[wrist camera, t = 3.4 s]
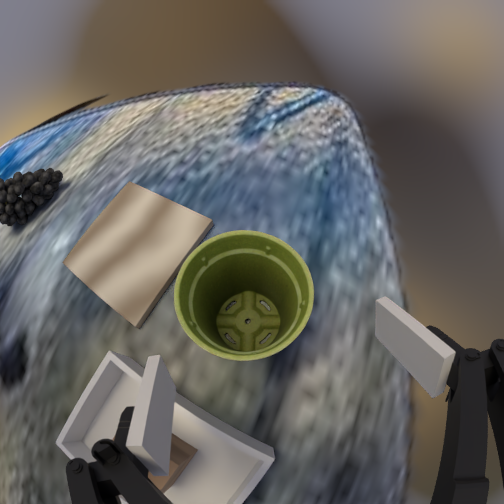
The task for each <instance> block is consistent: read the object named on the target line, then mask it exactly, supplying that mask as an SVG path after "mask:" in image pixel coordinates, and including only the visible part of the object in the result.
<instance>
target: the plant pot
mask: <svg viewBox="0 0 504 504" xmlns="http://www.w3.org/2000/svg"><path fill="white" fill-rule="evenodd" d="M232 301H236V303H235V304H234V305H232V306H231V307H230V308H229V309H228V310H227V311H226V307H227V306H228V305H229V304H230V303H231V302H232ZM260 301H264V302H266V303H267V304H268V305H269V306H270V308H271V310H270V311H268V310H267V309H266V307H265V306H264V305H262V304H261V303H260ZM313 301H314V287H313V281H312V277H311V274H310V271H309V269H308V267H307V265H306V264H305V262H304V260H303V259H302V258H301V256H300V255H299V254H298V253H297V252H296V251H295V250H294V249H293V248H292V247H290V246H289V245H288V244H286V243H285V242H284V241H282V240H280V239H278V238H276V237H274V236H272V235H269V234H265V233H262V232H258V231H247V230H238V231H231V232H226V233H223V234H220V235H217V236H215V237H212V238H210V239H208V240H207V241H205V242H203V243H202V244H201V245H199V246H198V247H197V248H196V249H195V250H194V251H193V252H192V253H191V254H190V255H189V256H188V257H187V259H186V260H185V262H184V263H183V265H182V267H181V269H180V271H179V273H178V276H177V279H176V283H175V290H174V305H175V310H176V314H177V317H178V320H179V322H180V324H181V326H182V327H183V329H184V331H185V332H186V333H187V335H188V336H189V337H190V338H191V339H192V340H193V341H194V342H195V343H196V344H197V345H198V346H200V347H201V348H202V349H204V350H206V351H207V352H209V353H211V354H213V355H216V356H219V357H221V358H225V359H229V360H236V361H251V360H257V359H262V358H265V357H268V356H271V355H273V354H275V353H277V352H279V351H281V350H283V349H284V348H285V347H287V346H288V345H289V344H291V343H292V342H293V341H294V340H295V339H296V338H297V337H298V335H299V334H300V333H301V332H302V330H303V329H304V327H305V326H306V324H307V322H308V320H309V317H310V315H311V312H312V308H313ZM248 318H249V319H250V321H251V322H250V323H249V324H246V323H245V320H246V319H248ZM225 333H228V334H229V336H230V337H231V338H232V339H233V340H234V341H235V342H236V344H235V343H232V342H230V341H229V340H228V339H227V338H226V337H225ZM268 333H271V336H270V337H269V338H268V339H267V341H266V342H265V343H263V344H260V341H262V340H263V339H264V338H265V337H266V336H267V335H268Z"/></svg>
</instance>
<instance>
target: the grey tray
mask: <svg viewBox="0 0 504 504" xmlns="http://www.w3.org/2000/svg"><path fill="white" fill-rule="evenodd" d="M144 370H145V369H144V368H143V367H142V366H141V365H139V364H138V363H137V362H136V361H134V360H133V359H132V358H130V357H127V356H124V355H121V354H118V353H115V352H113V351H110V350H109V351H108V353H107V354H106V356H105V358H104V359H103V361H102V362H101V364H100V366H99V367H98V369H97V370H96V372H95V374H94V375H93V377H92V379H91V380H90V382H89V384H88V385H87V387H86V389H85V390H84V392H83V394H82V395H81V397H80V399H79V401H78V402H77V404H76V406H75V408H74V409H73V411H72V413H71V415H70V416H69V418H68V420H67V422H66V424H65V425H64V427H63V429H62V431H61V433H60V435H59V437H58V438H57V440H56V442H55V443H56V444H57V445H58V446H59V447H60V449H61V450H62V451H63V452H64V453H65V454H66V455H67V456H68V457H69V458H70V459H71V460H72V459H74V458H82V459H84V460H85V461H86V462H87V463H90V462H95V461H97V460H96V459H95V458H94V457H93V456H92V453H91V450H92V447H93V445H94V444H95V443H96V442H97V441H99V440H101V439H111V440H112V439H113V438H114V436H115V434H116V431H117V429H118V423H119V420H120V416H121V413H122V412H123V411H124V409H125V408H126V407H129V406H135V404H136V400H137V396H138V392H139V389H140V385H141V381H142V377H143V374H144ZM172 433H173V434H174V435H176V436H177V437H179V438H180V439H182V440H183V441H185V442H186V443H188V444H190V445H191V446H193V447H194V448H196V449H198V451H197V452H196V454H195V455H194V456H193V458H192V459H191V461H190V462H189V463H188V465H187V466H186V468H185V469H184V470H183V472H182V473H181V475H180V476H179V477H178V479H177V480H176V481H175V483H174V484H173V485H172V486H171V487H170V488H169V489H168V490H167V491H166V492H165V493H164V495H165V496H166V497H167V498H168V499H169V500H170V501H171V502H172V503H173V504H242V503H243V502H244V501H245V499H246V498H247V497H248V496H249V494H250V493H251V492H252V490H253V489H254V488H255V487H256V485H257V484H258V482H259V481H260V480H261V478H262V477H263V476H264V474H265V473H266V472H267V470H268V469H269V467H270V466H271V464H272V463H273V462H274V460H275V455H274V450H273V447H271V446H269V445H267V444H264V443H262V442H260V441H258V440H256V439H254V438H253V437H251V436H249V435H247V434H245V433H243V432H241V431H239V430H237V429H236V428H234V427H232V426H230V425H228V424H227V423H225V422H223V421H221V420H220V419H218V418H216V417H215V416H213V415H211V414H210V413H208V412H206V411H205V410H203V409H202V408H200V407H198V406H197V405H195V404H194V403H192V402H191V401H189V400H188V399H186V398H185V397H183V396H182V395H180V394H179V393H177V392H176V395H175V404H174V414H173V424H172ZM119 498H120V500H121V503H122V504H128V502H127V501H126V500H125V498H124V497H123V496H122V495H119Z"/></svg>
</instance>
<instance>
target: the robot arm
mask: <svg viewBox="0 0 504 504" xmlns="http://www.w3.org/2000/svg"><path fill="white" fill-rule="evenodd" d="M375 337H376V338H377V339H378V340H379V341H380V342H381V343H382V344H383V345H384V346H385V347H386V348H387V349H388V350H389V351H390V352H391V354H392V355H393V356H394V357H395V358H396V359H397V360H398V361H399V362H400V363H401V364H402V365H403V366H404V367H405V369H406V370H407V371H408V372H409V373H410V374H411V375H412V376H413V377H414V378H415V379H416V380H417V382H418V383H419V384H420V385H421V386H422V387H423V388H424V389H425V390H426V391H427V392H428V394H429V395H430V396H431V397H432V398H435V397H436V396H438V395H439V394H441V393H442V392H444V389H445V386H446V384H447V385H448V386H449V387H450V389H449V392H448V395H447V398H446V402H447V400H448V411H447V422H446V430H445V438H444V445H443V451H442V457H441V462H440V467H439V472H438V477H437V481H436V485H435V489H434V493H433V497H432V500H431V503H430V504H486V502H487V496H488V490H489V480H488V479H487V478H485V467H486V455H487V436H488V434H487V433H488V414H489V418H490V422H491V425H492V429H493V432H494V437H495V441H496V445H497V450H498V455H499V460H500V466H501V472H502V478H503V487H504V340H503V339H496V340H494V341H493V342H492V344H491V347H490V349H488V350H485V351H482V352H480V351H478V350H476V349H472V348H469V349H464V348H462V347H461V346H460V345H459V344H457V343H456V342H455V341H453V340H452V339H451V338H450V337H448V336H447V335H446V334H444V333H443V332H442V331H441V330H439V329H438V328H436V327H433V326H427V327H424V326H423V325H422V324H421V323H419V322H418V321H417V320H416V319H414V318H413V317H412V316H411V315H409V314H408V313H407V312H405V311H404V310H403V309H401V308H400V307H399V306H398V305H396V304H395V303H394V302H392V301H391V300H390V299H388V298H387V297H383V298H381V299H378V300H376V323H375ZM175 395H176V387H175V385H174V383H173V381H172V378H171V376H170V374H169V372H168V370H167V368H166V366H165V364H164V361H163V359H162V357H161V355H155V356H148V360H147V363H146V367H145V370H144V374H143V377H142V381H141V385H140V389H139V392H138V396H137V400H136V404H135V406H129V407H126V408H125V409H124V411H123V412H122V413H121V416H120V420H119V423H118V429H117V431H116V434H115V438H114V441H113V440H111V439H101V440H99V441H97V442H96V443H95V444H94V445H93V447H92V450H91V453H92V456H93V457H94V458H95V459H96V460H97V461H95V462H90V463H87V462H86V461H85V460H84V459H82V458H74V459H72V460H70V461H69V462H68V464H67V466H66V474H67V480H68V486H69V491H70V496H71V500H72V504H122V503H121V500H120V498H119V495H122V496H123V497H124V498H125V500H126V501H127V502H128V504H173V503H172V502H171V501H170V500H169V499H168V498H167V497H166V496H165V495H164V494H163V493H162V492H161V491H160V490H159V489H158V488H157V486H156V485H155V484H154V483H153V482H152V481H151V480H150V479H149V478H148V472H150V473H151V474H152V475H153V476H169V462H170V448H171V435H172V424H173V414H174V404H175ZM487 411H488V414H487Z"/></svg>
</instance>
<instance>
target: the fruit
mask: <svg viewBox="0 0 504 504" xmlns="http://www.w3.org/2000/svg"><path fill="white" fill-rule="evenodd" d="M62 178H63V174H62V172H60V171H55V172H54V170H53V169H52V168H49V169H47V170H46V171H45V170H44V169H39V170H38V171H35V172H34V173H32V172H27V173H25V174H23V175H22V174H21V172H16V173H15V174H14V176H13V178H10V179H7V180H6V181H5V183H4V180H2V179H1V178H0V222H1V223H2V224H7V225H8V226H12V225H13V224H14V223H15V222H16V221H17V222H18V223H19V224H21V225H23V224H25V223H26V221H27V216H26V215H25V214H26V213H27V214H28V215H30V214H32V212H33V210H34V208H35V204H36V205H38V206H40V205H42V204H43V202H44V198H46V199H51V197H52V196H53V192H52V191H56V190H57V189H58V188H59V182H60V181H61V180H62ZM21 194H22V198H21V197H18V196H20V195H21Z"/></svg>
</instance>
